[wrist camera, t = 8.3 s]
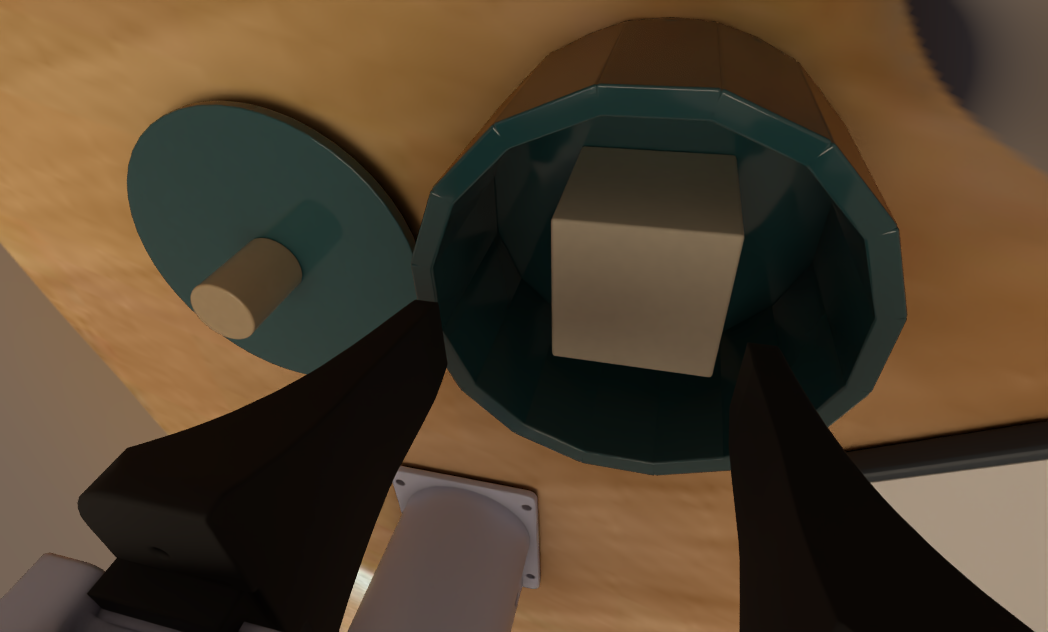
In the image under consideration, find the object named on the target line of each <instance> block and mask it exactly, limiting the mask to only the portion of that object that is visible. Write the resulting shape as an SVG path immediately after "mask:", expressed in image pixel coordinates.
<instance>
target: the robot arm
mask: <svg viewBox="0 0 1048 632" xmlns="http://www.w3.org/2000/svg"><path fill="white" fill-rule="evenodd" d="M447 365H448V363H447V356H446V350H445V343H444V337H443V330H442V324H441V317H440V311H439V304H438V302H430V301H423V300H414V301H412V302H411V303H409V304H408V305H407V306H405V307H404V308H402V309H401V310H400V311H398V312H397V313H396V314H394V315H393V316H392V317H390V318H389V319H388V320H386V321H385V322H384V323H382V324H381V325H380V326H378V327H377V328H376V329H374V330H373V331H371V332H370V333H369V334H367V335H366V336H365V337H363V338H362V339H360V340H359V341H358V342H356V343H355V344H354V345H352V346H351V347H349V348H348V349H346V350H345V351H343V352H342V353H340V354H338V355H337V356H335V357H334V358H332V359H331V360H329V361H328V362H326V363H325V364H323V365H322V366H320V367H319V368H317V369H315V370H314V371H312V372H311V373H309V374H307V375H305V376H304V377H302V378H300V379H298V380H297V381H295V382H293V383H291V384H289V385H287V386H285V387H284V388H282V389H280V390H278V391H276V392H274V393H272V394H270V395H268V396H266V397H263V398H261V399H259V400H257V401H255V402H253V403H251V404H248V405H246V406H244V407H242V408H240V409H238V410H235V411H233V412H231V413H228V414H226V415H223V416H221V417H218V418H216V419H213V420H211V421H208V422H205V423H203V424H200V425H197V426H195V427H192V428H189V429H186V430H183V431H181V432H178V433H175V434H171V435H168V436H165V437H162V438H159V439H155V440H152V441H149V442H146V443H143V444H139V445H136V446H132V447H129V448H127V449H126V450H125V451H124V452H123V453H122V454H121V455H120V456H119V457H118V458H117V459H116V460H115V461H114V462H113V463H112V464H111V465H110V466H109V467H108V468H107V469H106V470H105V471H104V472H103V473H102V474H101V475H100V476H99V477H98V478H97V479H96V480H95V481H94V482H93V483H92V484H91V485H90V486H89V487H88V488H87V489H86V490H85V491H84V493H82V494H81V495H80V497H79V500H78V510H79V512H80V515H81V517H82V518H83V520H84V521H85V522H86V524H87V525H88V526H89V527H90V529H91V530H92V531H93V532H94V533H95V534H96V535H97V536H98V537H99V538H100V540H101V541H102V542H103V543H104V544H105V545H106V546H107V548H108V549H109V550H110V551H111V552H112V553H113V554H114V555H115V556H116V557H117V559H116V560H115V561H114V562H113V563H112V564H111V566H110V567H109V568H108V569H107V570H106V572H105V571H104V570H102V569H101V568H99V567H97V566H95V565H93V564H90V563H87V562H84V561H80V560H76V559H72V558H68V557H65V556H61V555H57V554H53V553H45V554H43V555H42V556H41V557H40V558H39V560H38V561H37V562H36V563H35V564H34V565H33V566H32V567H31V568H30V569H29V570H28V571H27V572H26V573H25V574H24V575H23V576H22V578H20V580H19V581H18V582H17V583H16V584H15V585H14V586H13V587H12V588H11V589H10V590H9V591H8V592H7V593H6V594H5V595H4V596H3V597H2V598H1V600H0V632H339V629H340V626H341V623H342V619H343V616H344V613H345V610H346V606H347V603H348V600H349V597H350V594H351V591H352V588H353V585H354V582H355V579H356V576H357V573H358V570H359V568H360V565H361V562H362V559H363V556H364V553H365V551H366V548H367V545H368V542H369V540H370V537H371V534H372V532H373V529H374V526H375V523H376V521H377V518H378V516H379V513H380V511H381V508H382V506H383V503H384V501H385V498H386V496H387V493H388V491H389V488H390V486H391V484H392V482H393V485H394V488H395V492H396V495H397V499H398V502H399V505H400V509H401V512H402V515H401V517H400V519H399V522H398V524H397V526H396V528H395V530H394V532H393V535H392V537H391V539H390V541H389V543H388V545H387V548H386V550H385V552H384V554H383V556H382V558H381V561H380V563H379V565H378V567H377V569H376V571H375V573H374V576H373V578H372V580H371V582H370V584H369V586H368V589H367V591H366V593H365V595H364V597H363V599H362V602H361V604H360V606H359V608H358V610H357V612H356V615H355V617H354V619H353V621H352V623H351V625H350V627H349V630H348V632H511V629H512V625H513V621H514V617H515V613H516V609H517V605H518V601H519V597H520V593H521V589H522V586H523V587H527V588H531V589H536V588H538V587H539V585H540V555H539V528H538V500H537V496H536V494H535V493H533V492H532V491H529V490H524V489H519V488H514V487H509V486H504V485H498V484H493V483H488V482H483V481H478V480H472V479H467V478H462V477H457V476H452V475H446V474H441V473H436V472H431V471H426V470H420V469H415V468H410V467H405V466H401V464H402V462H403V460H404V458H405V456H406V454H407V452H408V450H409V449H410V447H411V445H412V443H413V441H414V439H415V437H416V435H417V433H418V432H419V430H420V428H421V426H422V424H423V422H424V420H425V418H426V416H427V414H428V412H429V410H430V408H431V406H432V404H433V402H434V400H435V398H436V396H437V393H438V390H439V388H440V385H441V382H442V379H443V376H444V374H445V371H446V368H447ZM729 456H730V466H731V476H732V485H733V494H734V503H735V512H736V521H737V531H738V540H739V556H740V632H1034V631H1033V630H1032V629H1031V628H1029V627H1028V626H1027V625H1025V624H1024V623H1023V622H1022V621H1020V620H1019V619H1018V618H1017V617H1015V616H1014V615H1013V614H1011V613H1010V612H1009V611H1008V610H1006V609H1005V608H1004V607H1002V606H1001V605H1000V604H999V603H997V602H996V601H995V600H993V599H992V598H991V597H990V596H988V595H987V594H986V593H985V592H983V591H982V590H981V589H980V588H979V587H977V586H976V585H975V584H974V583H973V582H972V581H970V580H969V579H968V578H967V577H966V576H965V575H963V574H962V573H961V572H960V571H959V570H958V569H957V568H955V567H954V566H953V565H952V564H951V563H950V562H948V561H947V560H946V559H945V558H944V557H943V556H942V555H941V554H940V553H939V552H937V551H936V550H935V549H934V548H933V547H932V546H931V545H930V544H929V543H928V542H927V541H926V540H925V539H924V538H923V537H922V536H921V535H920V534H919V533H918V532H917V531H916V530H915V529H914V528H913V527H911V526H910V525H909V524H908V523H907V522H906V521H905V520H904V519H903V518H902V517H901V516H900V515H899V514H898V513H897V512H896V511H895V510H894V509H893V508H892V506H891V505H890V504H889V503H888V502H887V501H886V500H885V499H884V498H883V497H882V496H881V495H880V493H879V492H878V491H877V490H876V489H875V488H874V486H873V485H872V484H871V483H870V482H869V481H868V480H867V478H866V477H865V476H864V475H863V474H862V472H861V471H860V470H859V469H858V467H857V466H856V465H855V464H854V462H853V461H852V460H851V459H850V457H849V456H848V455H847V453H846V452H845V451H844V449H843V448H842V447H841V445H840V444H839V443H838V441H837V440H836V439H835V437H834V436H833V434H832V433H831V432H830V430H829V429H828V427H827V426H826V424H825V423H824V421H823V420H822V418H821V417H820V415H819V414H818V412H817V411H816V409H815V408H814V406H813V405H812V403H811V402H810V400H809V398H808V397H807V395H806V394H805V392H804V390H803V389H802V387H801V385H800V383H799V382H798V380H797V378H796V377H795V375H794V373H793V371H792V370H791V368H790V366H789V364H788V362H787V361H786V359H785V357H784V355H783V353H782V351H781V350H780V349H779V348H778V346H773V345H765V344H757V343H749V342H748V343H747V346H746V350H745V354H744V357H743V361H742V364H741V368H740V371H739V375H738V379H737V382H736V386H735V389H734V393H733V396H732V400H731V404H730V409H729Z"/></svg>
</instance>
